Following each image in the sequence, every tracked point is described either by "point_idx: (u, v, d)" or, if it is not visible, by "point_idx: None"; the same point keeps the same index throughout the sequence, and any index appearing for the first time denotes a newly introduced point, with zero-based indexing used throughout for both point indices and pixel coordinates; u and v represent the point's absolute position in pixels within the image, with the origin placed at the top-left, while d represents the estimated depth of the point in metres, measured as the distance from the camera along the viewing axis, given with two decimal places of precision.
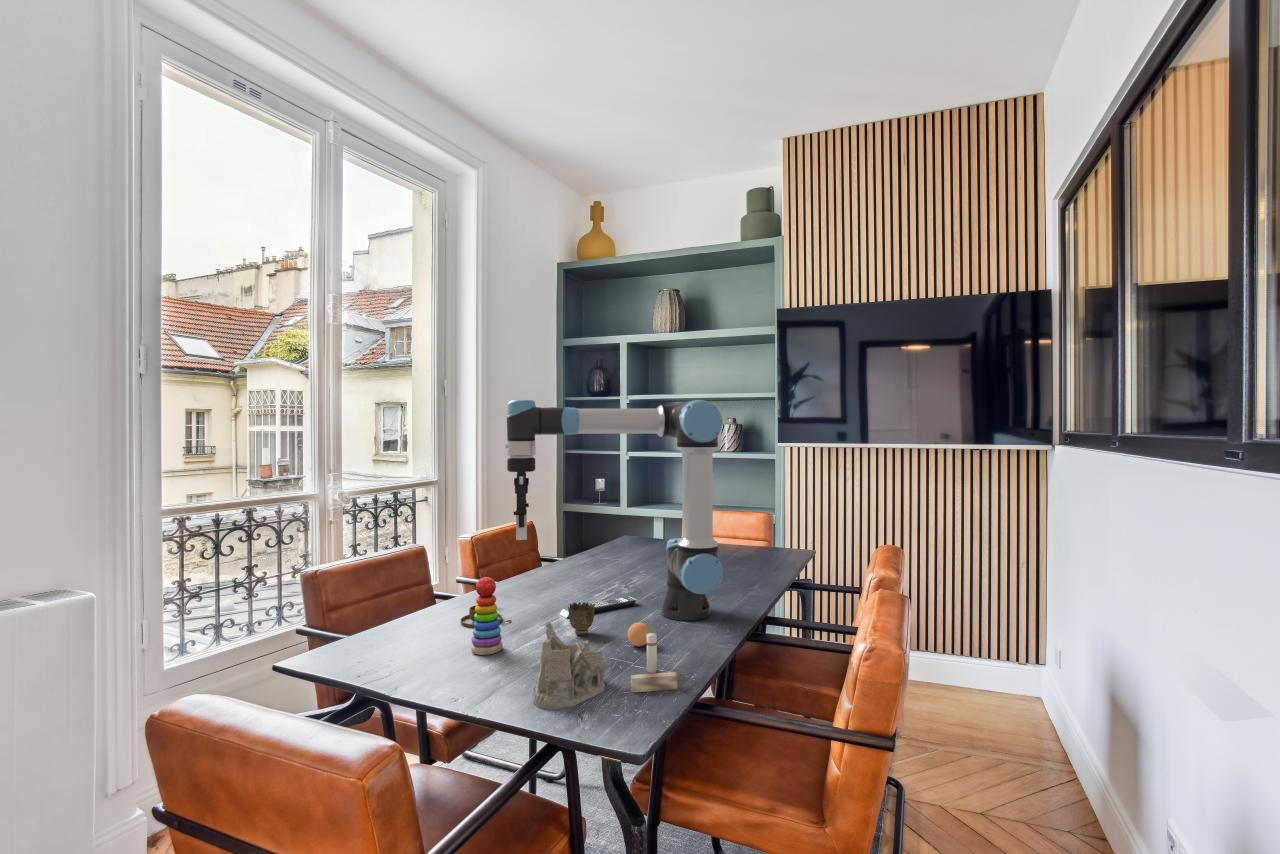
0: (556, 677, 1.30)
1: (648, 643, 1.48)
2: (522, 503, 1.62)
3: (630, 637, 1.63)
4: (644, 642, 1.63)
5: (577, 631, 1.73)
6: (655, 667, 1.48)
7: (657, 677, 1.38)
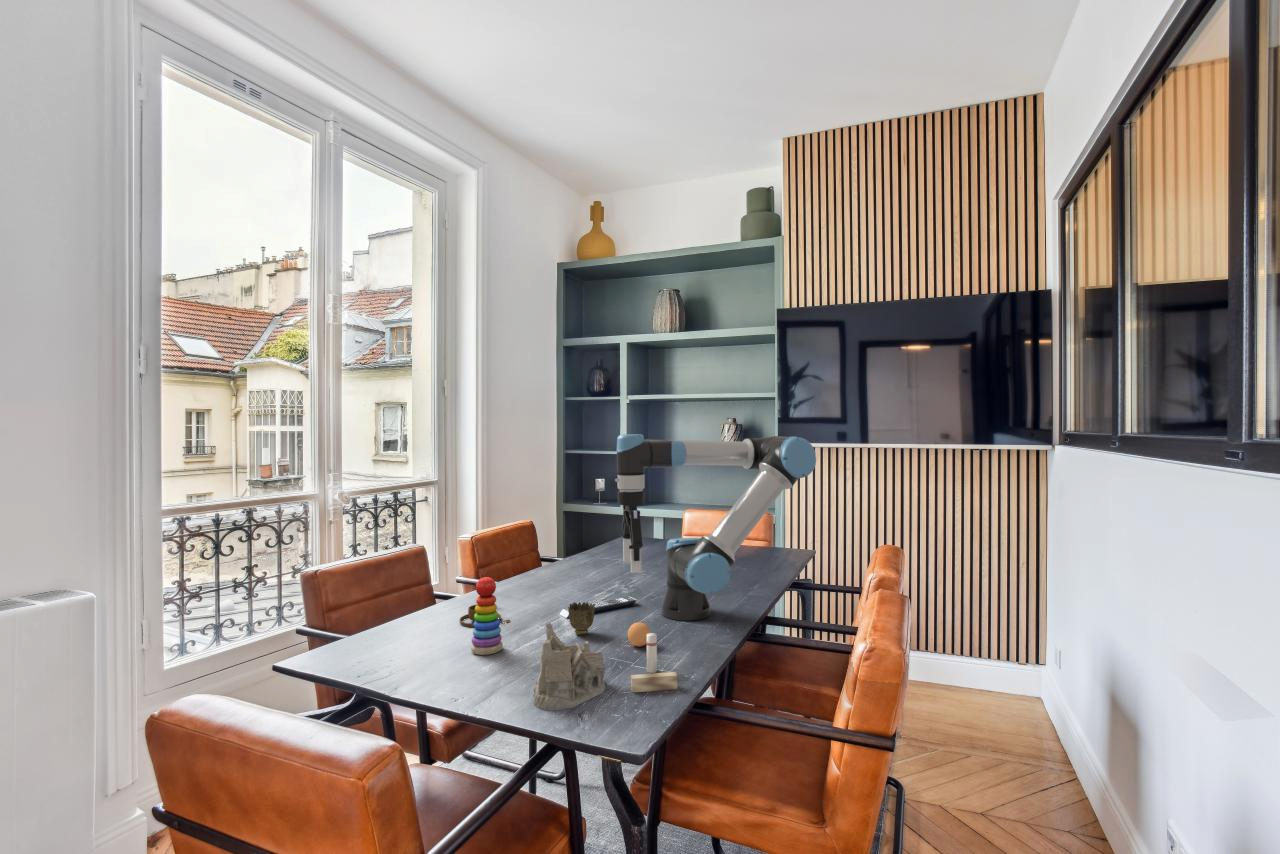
0: (557, 678, 1.30)
1: (648, 643, 1.48)
2: (638, 537, 1.65)
3: (630, 637, 1.63)
4: (644, 642, 1.63)
5: (577, 631, 1.73)
6: (655, 667, 1.48)
7: (657, 677, 1.38)
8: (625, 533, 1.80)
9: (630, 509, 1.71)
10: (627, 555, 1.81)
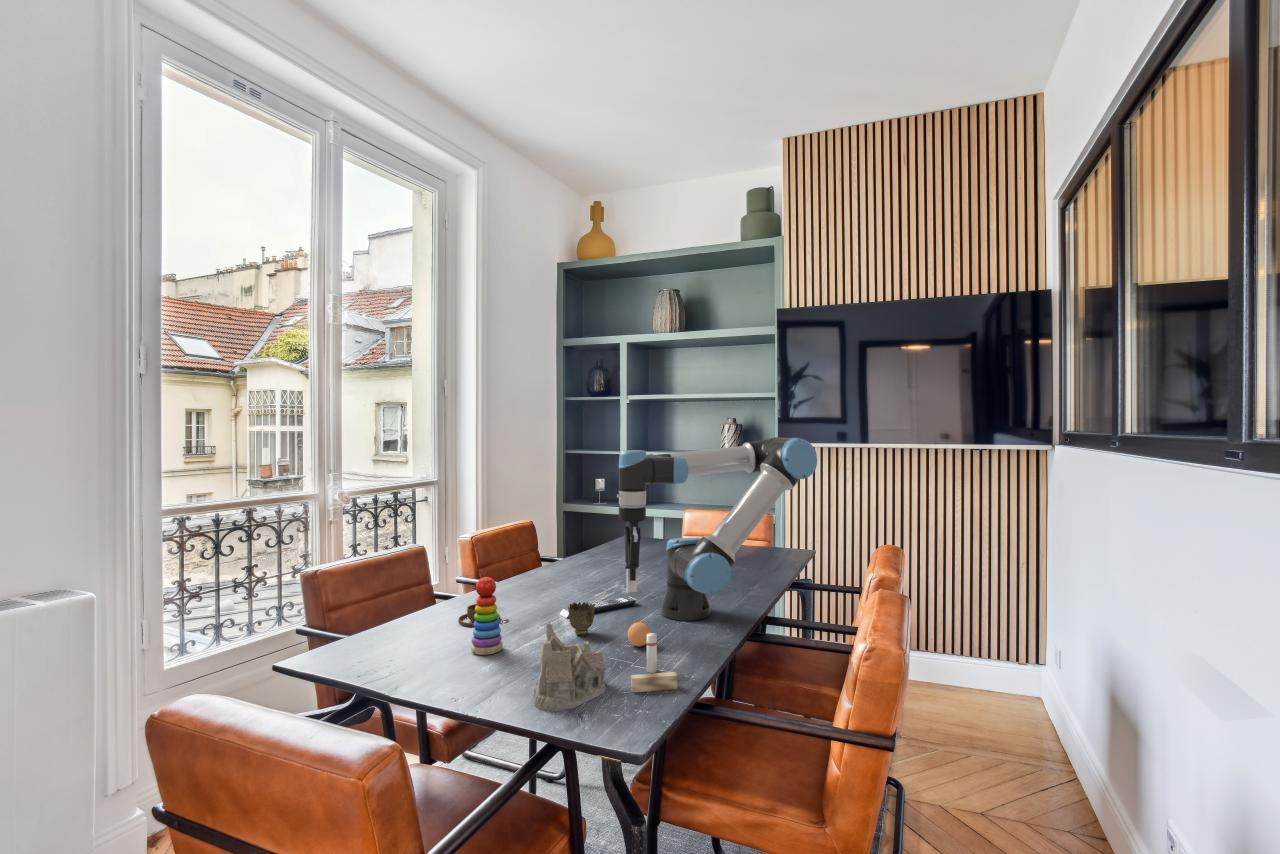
0: (557, 679, 1.29)
1: (648, 643, 1.48)
2: (635, 560, 1.70)
3: (630, 637, 1.63)
4: (644, 642, 1.63)
5: (577, 631, 1.73)
6: (655, 667, 1.48)
7: (657, 677, 1.38)
8: None
9: (631, 528, 1.70)
10: None
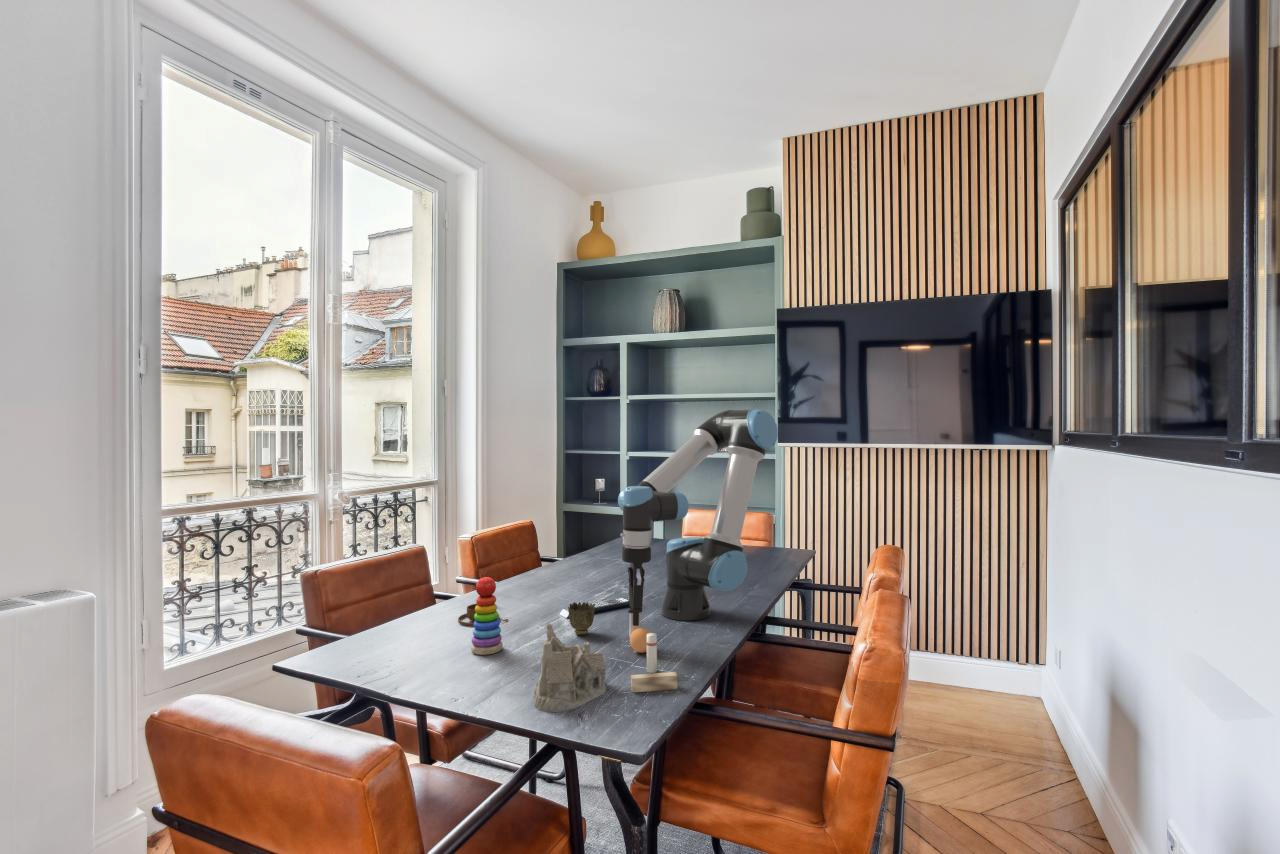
0: (558, 680, 1.29)
1: (648, 643, 1.48)
2: (638, 604, 1.60)
3: (632, 647, 1.60)
4: None
5: (577, 631, 1.73)
6: (655, 667, 1.48)
7: (657, 677, 1.38)
8: None
9: (635, 570, 1.60)
10: (633, 629, 1.64)
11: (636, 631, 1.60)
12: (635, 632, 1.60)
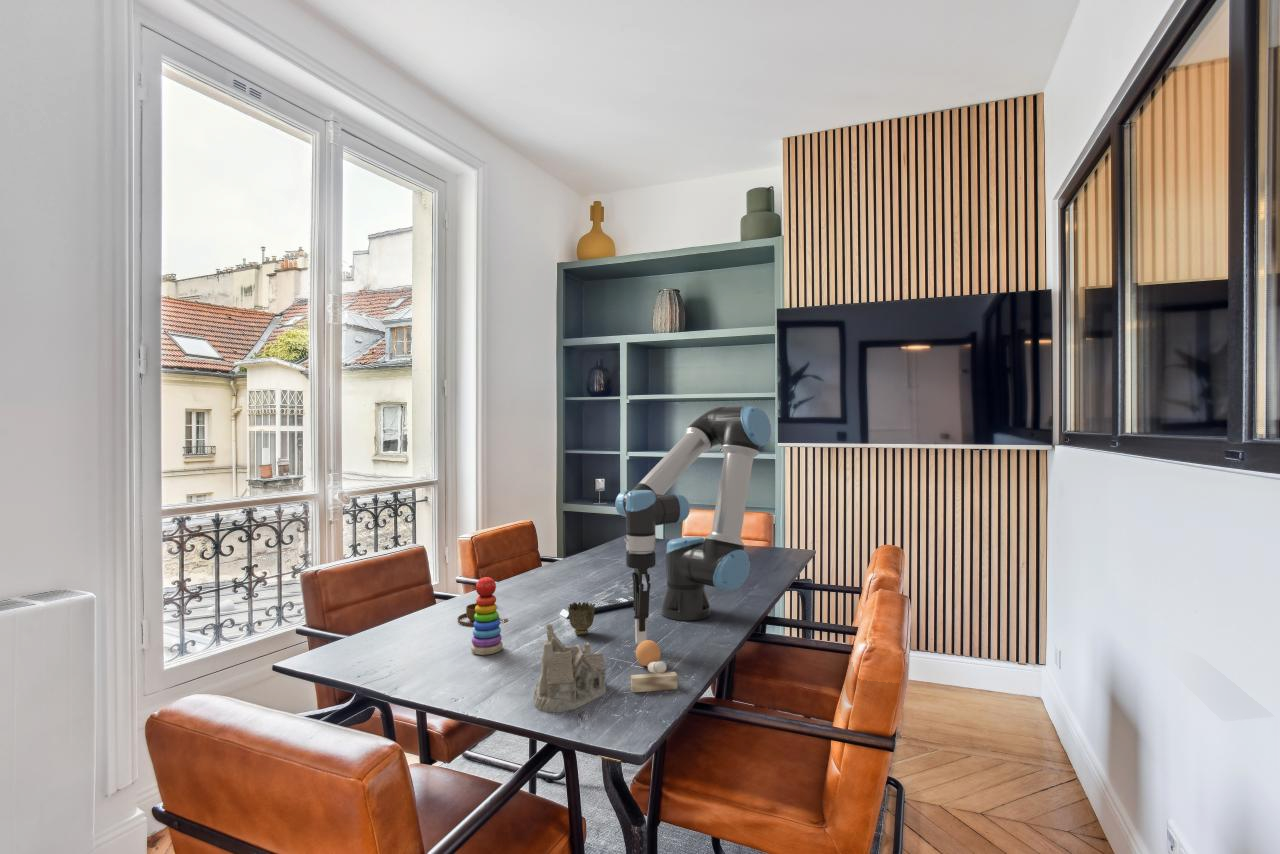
0: (558, 680, 1.29)
1: (655, 670, 1.41)
2: (645, 610, 1.58)
3: (637, 647, 1.52)
4: (652, 641, 1.51)
5: (577, 631, 1.73)
6: None
7: (657, 677, 1.38)
8: None
9: (640, 576, 1.58)
10: None
11: None
12: None
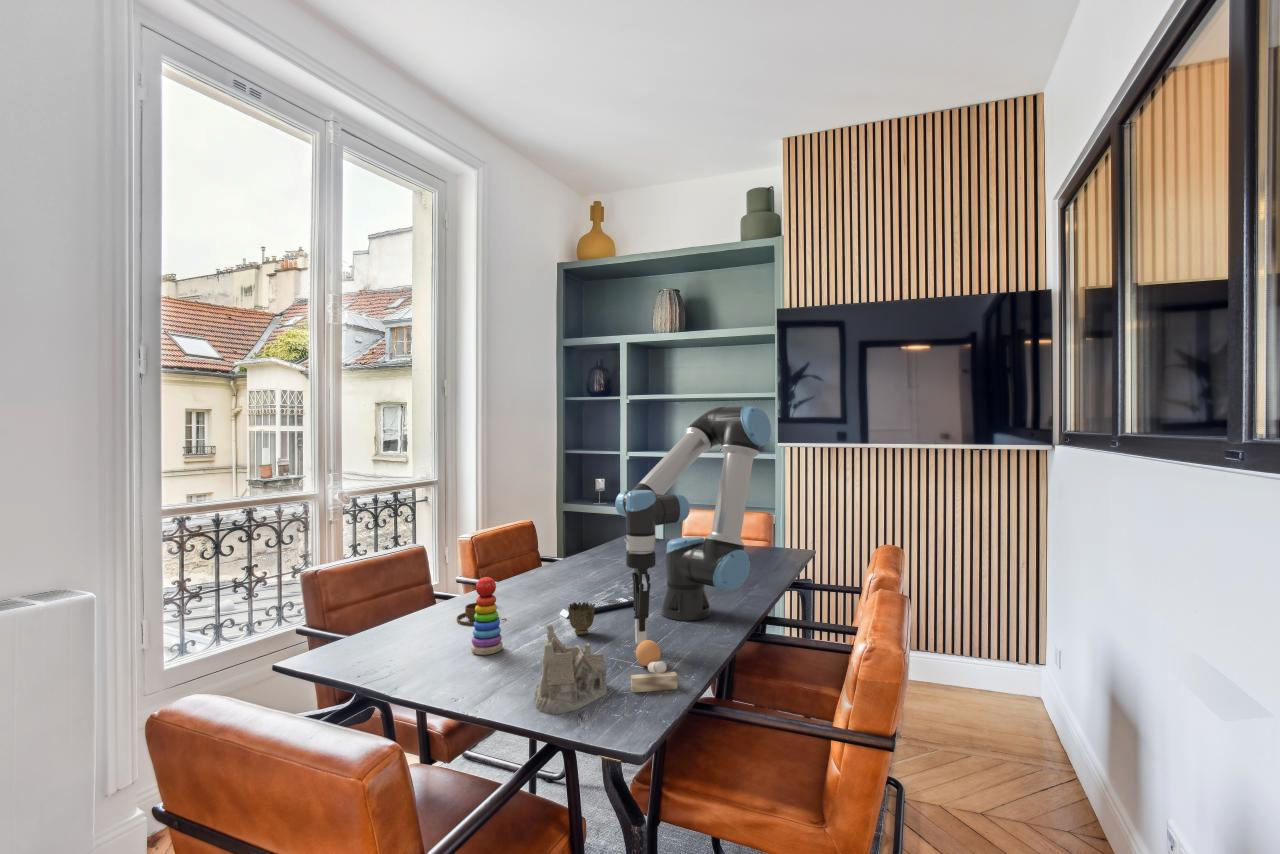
0: (559, 681, 1.28)
1: (655, 670, 1.41)
2: (645, 610, 1.58)
3: (637, 647, 1.52)
4: (652, 641, 1.51)
5: (577, 631, 1.73)
6: None
7: (657, 677, 1.38)
8: None
9: (640, 576, 1.58)
10: None
11: None
12: None
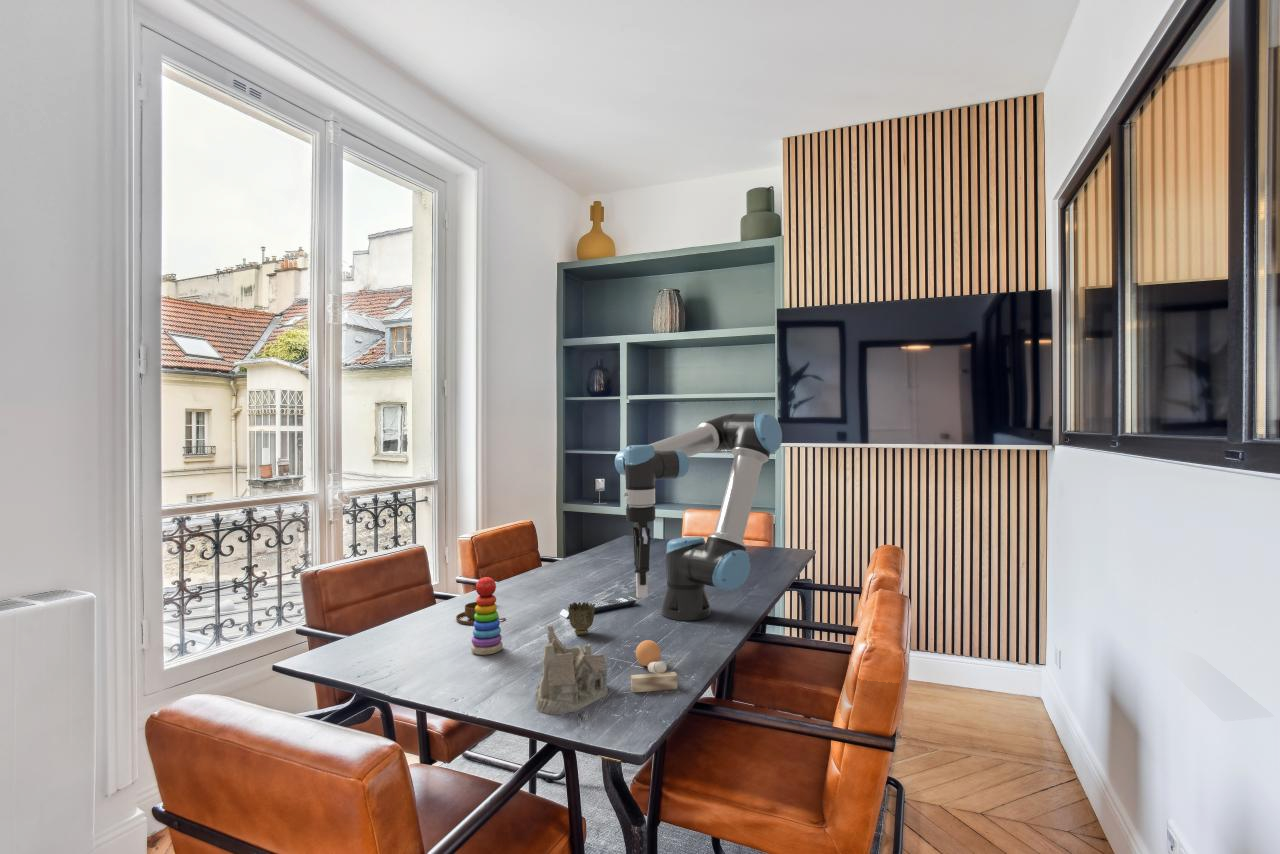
0: (560, 682, 1.28)
1: (655, 670, 1.41)
2: (645, 563, 1.58)
3: (637, 647, 1.52)
4: (652, 641, 1.51)
5: (577, 631, 1.73)
6: None
7: (657, 677, 1.38)
8: None
9: (640, 529, 1.58)
10: None
11: None
12: None
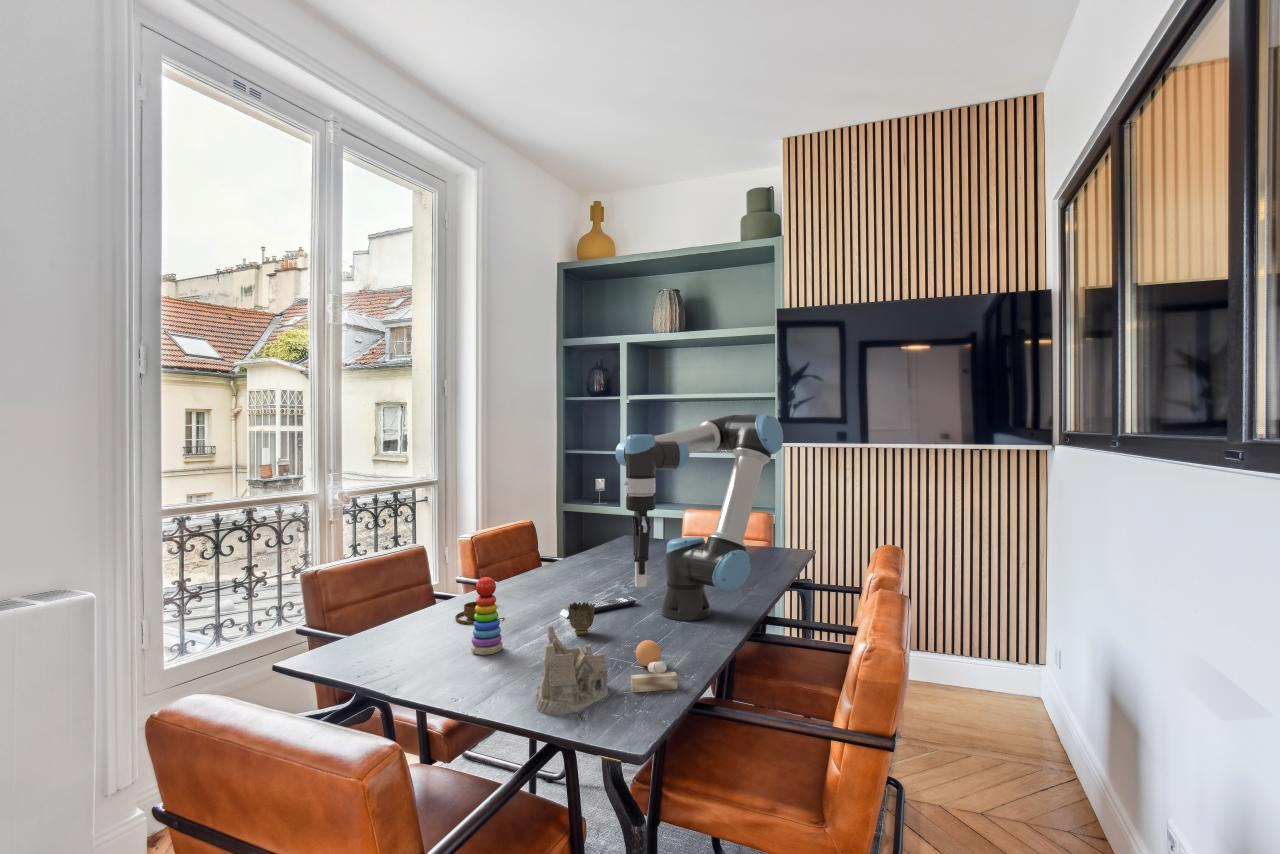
0: (561, 682, 1.28)
1: (655, 670, 1.41)
2: (644, 552, 1.58)
3: (637, 647, 1.52)
4: (652, 641, 1.51)
5: (577, 631, 1.73)
6: None
7: (657, 677, 1.38)
8: (637, 550, 1.63)
9: (640, 518, 1.58)
10: None
11: None
12: None
